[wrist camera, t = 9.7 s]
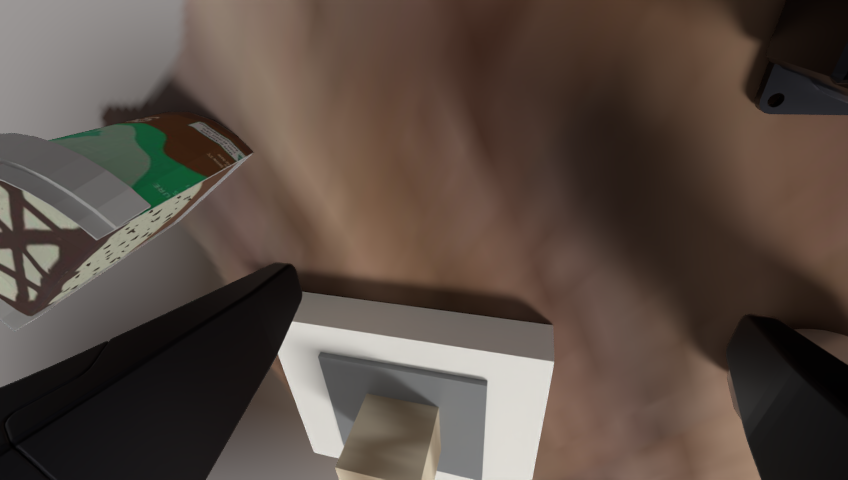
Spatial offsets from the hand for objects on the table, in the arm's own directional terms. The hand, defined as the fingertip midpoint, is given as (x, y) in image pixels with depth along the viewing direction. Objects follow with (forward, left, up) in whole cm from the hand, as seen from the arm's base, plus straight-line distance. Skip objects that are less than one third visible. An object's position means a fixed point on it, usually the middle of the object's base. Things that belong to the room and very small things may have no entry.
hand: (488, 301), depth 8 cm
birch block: (+6, +20, -9) cm, 22 cm away
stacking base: (+6, +20, -12) cm, 24 cm away
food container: (+20, +2, -12) cm, 24 cm away
